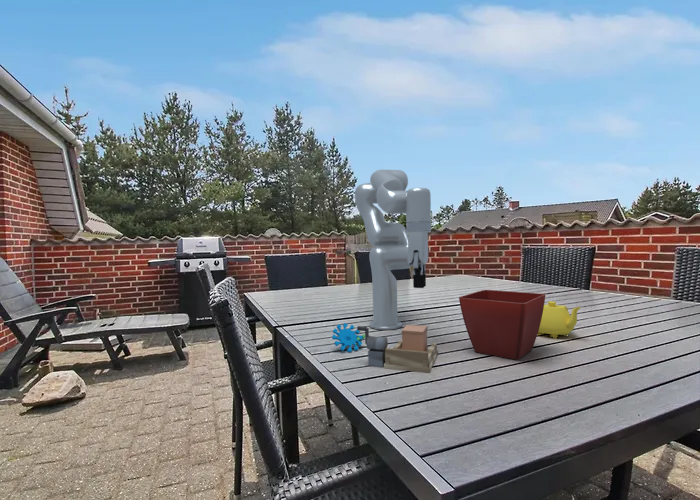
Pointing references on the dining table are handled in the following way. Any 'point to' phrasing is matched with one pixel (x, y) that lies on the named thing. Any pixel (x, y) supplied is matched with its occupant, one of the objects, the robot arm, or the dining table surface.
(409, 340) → the pink-tan cube
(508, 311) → the plant pot
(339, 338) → the gear
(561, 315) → the teapot
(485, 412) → the dining table surface
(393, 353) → the bay
